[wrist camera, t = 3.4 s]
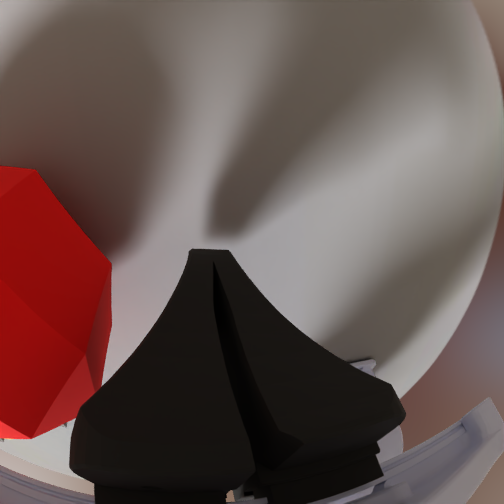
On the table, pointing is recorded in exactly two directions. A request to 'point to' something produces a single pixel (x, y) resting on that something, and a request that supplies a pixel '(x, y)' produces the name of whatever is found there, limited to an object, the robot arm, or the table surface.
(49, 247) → the ball
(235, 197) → the table surface
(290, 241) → the table surface
